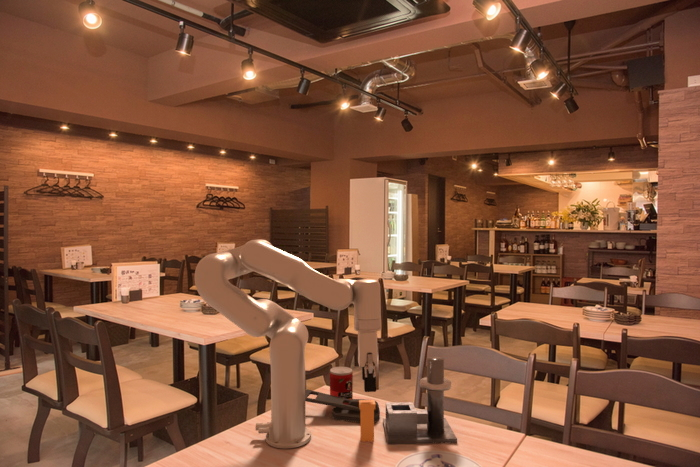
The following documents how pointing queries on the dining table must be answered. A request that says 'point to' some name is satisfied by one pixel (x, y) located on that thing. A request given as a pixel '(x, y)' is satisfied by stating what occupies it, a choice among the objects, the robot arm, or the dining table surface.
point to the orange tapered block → (367, 419)
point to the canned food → (341, 382)
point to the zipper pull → (341, 406)
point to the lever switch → (422, 412)
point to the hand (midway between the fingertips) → (369, 385)
